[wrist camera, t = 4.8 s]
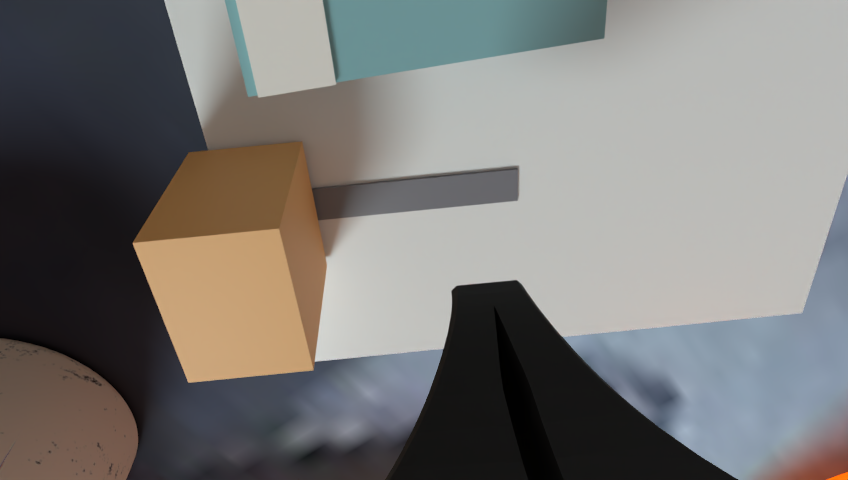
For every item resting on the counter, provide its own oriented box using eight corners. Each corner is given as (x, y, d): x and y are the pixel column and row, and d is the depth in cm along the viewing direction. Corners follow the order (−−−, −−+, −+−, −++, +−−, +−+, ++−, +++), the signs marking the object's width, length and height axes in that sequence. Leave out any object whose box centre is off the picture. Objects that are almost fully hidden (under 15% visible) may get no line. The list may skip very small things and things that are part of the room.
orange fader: (301, 141, 16) (279, 228, 13) (327, 264, 19) (313, 370, 15) (188, 152, 16) (132, 242, 13) (227, 274, 18) (188, 382, 15)
